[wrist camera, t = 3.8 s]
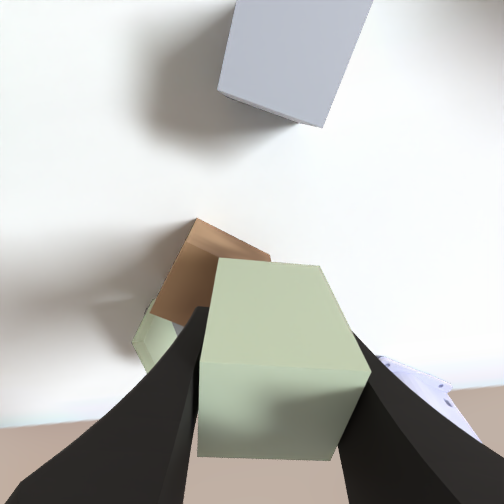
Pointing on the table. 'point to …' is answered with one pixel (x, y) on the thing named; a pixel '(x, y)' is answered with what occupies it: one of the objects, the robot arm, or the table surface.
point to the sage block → (276, 364)
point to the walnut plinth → (199, 271)
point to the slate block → (291, 54)
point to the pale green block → (154, 338)
